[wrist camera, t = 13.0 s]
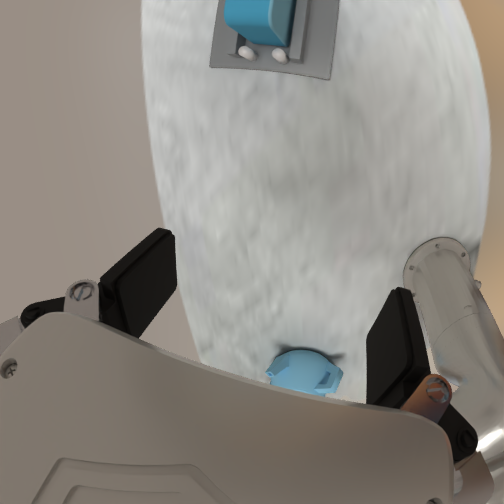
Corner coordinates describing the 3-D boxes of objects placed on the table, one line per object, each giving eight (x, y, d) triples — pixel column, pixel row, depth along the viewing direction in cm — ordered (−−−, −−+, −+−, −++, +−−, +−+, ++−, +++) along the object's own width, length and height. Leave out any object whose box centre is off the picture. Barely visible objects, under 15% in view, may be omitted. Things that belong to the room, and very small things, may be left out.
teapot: (327, 388, 59) (322, 425, 50) (268, 377, 62) (257, 413, 53) (346, 351, 51) (343, 395, 42) (275, 338, 54) (262, 380, 45)
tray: (341, -31, 18) (341, -47, 14) (329, 80, 28) (329, 75, 24) (228, -36, 21) (215, -49, 17) (212, 67, 31) (196, 63, 27)
